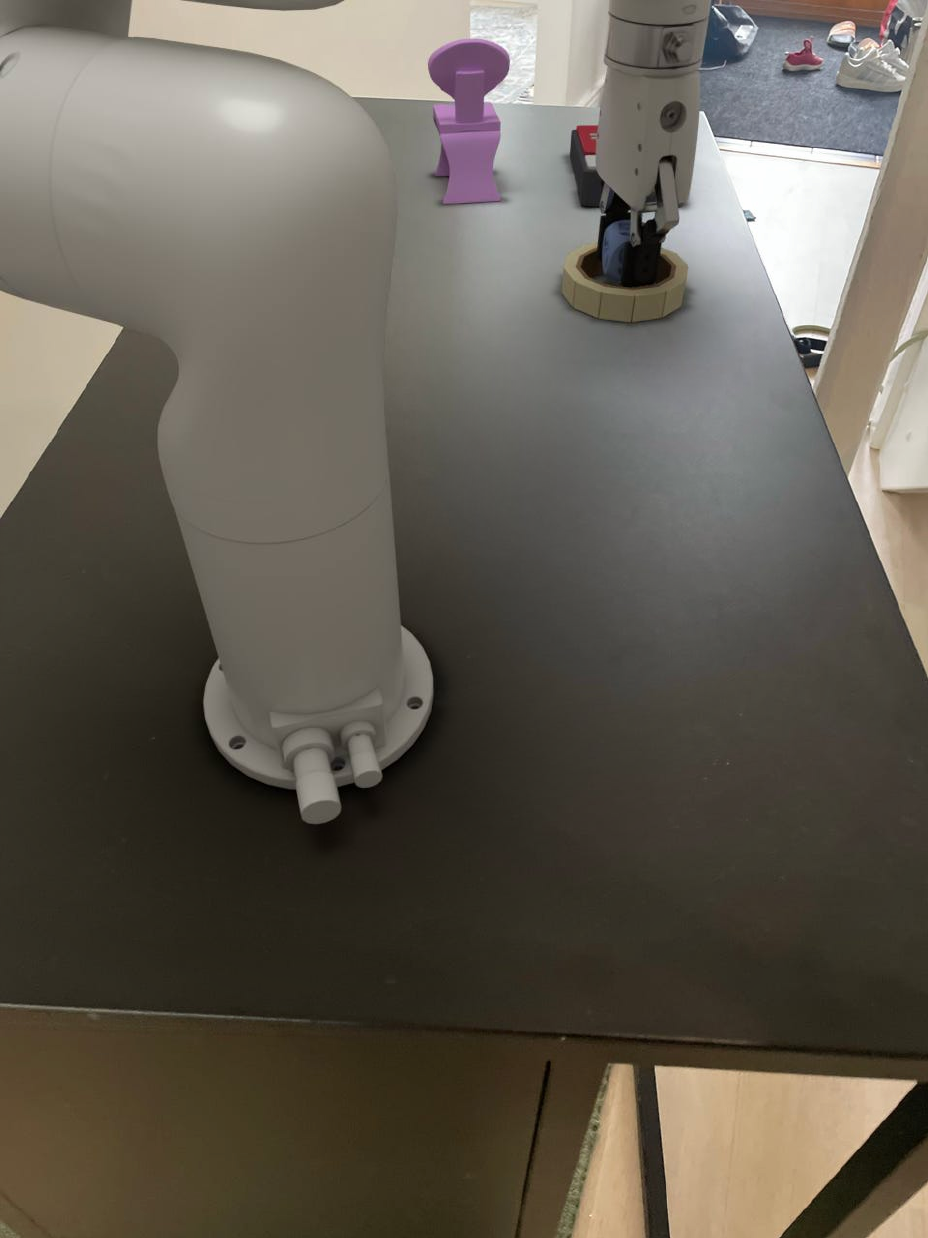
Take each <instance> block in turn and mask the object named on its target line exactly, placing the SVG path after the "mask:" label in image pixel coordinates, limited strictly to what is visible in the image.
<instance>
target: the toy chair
mask: <svg viewBox="0 0 928 1238" xmlns="http://www.w3.org/2000/svg"><path fill="white" fill-rule="evenodd" d="M510 58H511V57H510V55H509V53H508V51H507V50H506V49H505V48H504V47H503V46H501V45H500V44H499V43H496V42H494V41H491V40H488V39H484V38H461V39H457V40H454V41H453V40H452V41H450V42H448V43H445V44H444V45H441V46H440V47H439V48H436V50H435V51H433V52H432V53H431V54H430V56H429V58H428V61H427V70H428V74H429V77H430V79H431V81H432V82H433V83H434V84H435V85H436V87H438V88H439V89H440V91H442V92H444V93H445V94H447V95H448V96H449V97H450V98H452V99H453V100H454V104H447V103H446V104H444V103H443V104H432V116H433V117H432V118H433V123H434V126H435V127H436V130H437V132H438V135H439V139H440V145H441V146H440V153H439V159H438V164H437V166H436V169H435V173H434V175H435V177H448V183H447V184H448V185H447V188H446V191H445V194H444V198H443V200H442V203H443V205H454V204H455V205H456V204H458V205H459V204H472V203H473V204H475V203H490V202H491V203H492V202H500V201H502V199H501V196H500V193H499V190H498V188H497V184H496V181H495V176H494V162H495V156H496V154H497V150H498V148H499V144H500V141H501V137H502V135H501V120H500V118H499V116H498V115H497V111H496V110H495V108H494V105H493V103H492V102H491V101H488V102H487V101H486V102H485V97H486V96H487V95H488V94H489V93H490V92H491V91H493V90H495V89H496V87H497V86H498V85H499V84H501V83H502V82H503V81H504V80H505V79H506V77H507V76H508V74H509V71H510V66H511V65H510V63H511V59H510Z"/></svg>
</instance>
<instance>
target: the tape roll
mask: <svg viewBox="0 0 928 1238" xmlns="http://www.w3.org/2000/svg"><path fill="white" fill-rule="evenodd" d="M597 245H598V241H597V242H596V241H595V242H590V243H586V244H584V245H583V246H580V247H579V248H577V249H575V250H573V251H571V252H569V253H568V255H567V257H566V260H565V263H564V265H563V269H562V281H561V282H562V283H561V295H563V297H564V298H565V299H566V301H567V302H568V303H569V305H570V306H571V307H572V308H573V309H575V310H578V311H580V312H582V313H584V314H587V315H589V316H591V317H593V318H595V319H599V320H605V321H614V322H623V323H638V322H643V321H651V320H658V319H662V318H665V317H666V316H668V315H670V314H671V313H673V312H675V311H676V310H678V309H679V308H681V307H682V305H683V299H684V295H685V290H686V289H685V288H686V283H687V278H688V271H689V265H688V263H686V261H684V260H683V258H681V257H680V256H679V254H678V253H676V252H674V251H672V250H669V249H667V248H665V247H662V246H661V252H660V258H659V265H658V271H657V277H656V282H657V283H656V284H653V285H649V286H642V287H635V288H629V287H622V286H621V285H620V286H619V285H611V284H607V283H604V282H602V281H599V280H597V279H594V278H593V277H594V276H596V275H605V274H604V272H603V264H602V261H600V260H599V259H598V258H597V256H596V255H597Z"/></svg>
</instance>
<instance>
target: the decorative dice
mask: <svg viewBox="0 0 928 1238" xmlns="http://www.w3.org/2000/svg"><path fill="white" fill-rule="evenodd" d="M645 223H646V222H644V221H642V226H643V225H644V224H645ZM630 226H631V220H621V221H617V222H614V223H612V224H611V225H610V226H609V227H608V228H607V229H606V230H605V234H604V240H603V251H602V264H603V272H604V274H603V275H605V276H606V277H607V278H608V279H609V280H612V281H614V282H619V283H620V281H621V273H622V265H623V258H624V250H625V242H629V241H630Z"/></svg>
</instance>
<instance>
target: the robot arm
mask: <svg viewBox="0 0 928 1238" xmlns="http://www.w3.org/2000/svg"><path fill="white" fill-rule="evenodd" d="M182 1H184V2H189V3H190V2H192V3H200V4H205V5H215V6H223V7H232V8H241V9H242V8H243V9H252V10H267V11H282V12H287V11H315V10H319V9H325V8H328V7H334V6H336V5H337V6H338V5H339V4H340V3H343V2H344V1H345V0H181V2H182ZM132 7H133V0H0V292H3V293H5V294H7V295H10V296H14V297H17V298H20V299H22V300H26V301H30V302H31V303H36V304H40V305H44V306H46V307H50V308H52V309H58V310H61V311H64V312H65V311H66V312H69V313H72V314H75V315H80V316H84V317H87V318H92V319H95V320H99V321H101V322H107V323H110V324H114V325H117V326H119V327H121V328H124V329H127V330H130V331H133V332H137V333H140V334H144V335H147V336H150V337H153V338H155V339H157V340H159V341H161V342H163V343H164V344H165V345H166V346H168V347H169V348H170V350H171V351H172V352H173V353H174V356H175V358H176V360H177V363H178V365H177V366H178V376H177V380H176V383H175V385H174V386H173V389H172V391H171V393H170V395H169V396H168V398H167V400H166V402H165V404H164V406H163V408H162V411H161V414H160V416H159V421H158V426H157V453H158V459H159V464H160V468H161V472H162V477H163V479H164V483H165V487H166V490H167V494H168V497H169V500H170V503H171V504H172V507H173V509H174V512H175V515H176V519H177V523H178V525H179V530H180V532H181V536H182V540H183V543H184V546H185V549H186V553H187V556H188V559H189V563H190V567H191V570H192V574H193V576H194V580H195V583H196V586H197V590H198V593H199V596H200V600H201V604H202V607H203V609H204V613H205V616H206V620H207V623H208V626H209V630H210V633H211V636H212V640H213V643H214V646H215V651H216V653H217V656H218V657H217V659H216V661H215V662H214V664H213V666H212V667H211V669H210V673H209V674H208V677H207V680H206V683H205V685H204V692H203V693H204V694H203V699H202V704H203V712H204V720H205V722H206V726H207V728H208V732H209V735H210V737H211V740H212V741H213V743H214V745H215V747H216V748H217V751H218V752H219V753H220V754H221V755H222V756H223V758H225V759H226V760H227V762H228V763H229V764H230V765H231V766H232V767H233V768H235V769H237V770H238V771H239V772H241V773H242V774H243V775H245V776H247V777H249V778H251V779H254V780H256V781H258V782H261V783H263V784H266V785H268V786H273V787H277V788H282V789H287V790H296V795H297V801H298V806H299V807H298V808H299V812H300V816H301V817H300V818H301V820H302V821H303V822H305V823H306V824H310V825H320V824H321V825H322V824H325V823H329V822H330V821H333V820H335V819H336V818H337V817H338V816H339V815H340V814H341V812H342V804H341V800H340V795H339V790H338V788H339V787H343V786H346V785H350V784H354V785H355V786H356V787H358V788H361V789H367V788H372V787H375V786H377V785H378V784H379V783H380V782H381V781H382V780H383V773H382V771H383V770H384V769H386V768H387V767H389V766H390V765H392V764H393V763H395V762H396V761H398V760H399V759H400V758H401V757H402V756H403V755H404V754H405V753H406V752H407V751H408V750H409V749H410V748H411V747H412V746H413V745H414V744H415V742H416V741H417V739H418V738H419V737H420V735H421V733H422V732H423V731H424V729H425V727H426V724H427V722H428V720H429V717H430V715H431V713H432V706H433V701H434V695H435V694H434V693H435V692H434V676H433V670H432V666H431V661H430V659H429V658H428V657H429V656H428V655H427V653H426V651H425V649H424V647H423V645H422V644H421V643H420V642H419V640H418V639H417V638H416V636H415V635H414V634H413V633H412V632H410V631H409V630H408V629H407V628H406V627H404V626H403V625H402V620H401V619H402V618H401V608H400V594H399V583H398V581H399V580H398V570H397V557H396V544H395V542H396V541H395V532H394V531H395V529H394V518H393V517H394V515H393V504H392V491H391V478H390V467H389V457H388V444H387V443H388V442H387V429H386V428H387V426H386V409H385V366H384V365H385V342H386V326H387V318H388V317H387V315H388V307H389V298H390V297H389V296H390V289H391V280H392V273H393V264H394V257H395V248H396V240H397V230H398V229H397V227H398V217H399V216H398V214H399V213H398V210H399V209H398V185H397V178H396V174H395V173H396V172H395V167H394V163H393V158H392V155H391V152H390V150H389V147H388V145H387V142H386V140H385V138H384V136H383V134H382V131H380V129H379V127H378V126H377V124H376V122H375V120H373V119H372V118H371V116H370V115H369V114H368V112H367V111H366V109H364V107H363V106H361V104H359V102H358V101H357V100H355V98H354V97H353V96H352V95H350V94H348V93H347V92H346V91H345V90H344V89H343V88H342V87H340V86H338V85H336V84H335V83H334V82H332V81H331V80H329V79H327V78H325V77H324V76H321V75H319V74H317V73H315V72H314V71H311V70H309V69H306V68H304V67H301V66H299V65H296V64H293V63H291V62H287V61H285V60H282V59H279V58H275V57H271V56H267V55H262V54H258V53H254V52H249V51H243V50H237V49H232V48H225V47H220V46H211V45H204V44H198V43H197V44H196V43H192V42H183V41H177V40H169V39H162V38H156V37H143V36H129V34H130V33H129V32H130V23H131V16H132V15H131V14H132ZM711 7H712V0H609V3H608V12H607V22H606V32H605V43H604V53H603V63H604V65H605V66H607V67H606V72H605V76H604V82H603V89H602V94H601V100H600V101H601V102H600V107H599V116H598V124H597V125H598V131H597V141H596V169H597V172H598V174H599V176H600V177H601V182H600V186H601V187H602V196H601V200H600V206H599V211H600V218H599V227H598V237H597V242H598V245H597V255H596V256H597V258H598V259H599V260H600V261H602V251H603V240H604V234H605V230H606V229H607V228H608V227H609V226H610V225H611V224H612V223H614V222H617V221H621V220H631V226H630V241H629V242H625V250H624V258H623V265H622V273H621V281H620V282H619V284H620V287H629V288H635V287H642V286H650V285H655V283H656V282H657V281H656V277H657V271H658V265H659V258H660V252H661V247H662V244H663V243H665V242H666V239H667V235H668V234H669V232H670V231H671V230H672V229H674V228H675V227H676V226H678V225H679V223H680V210H679V207H682V206H685V205H686V204H687V203H688V202H689V198H690V196H691V195H690V194H691V191H692V190H691V189H692V183H693V175H694V169H695V161H696V154H697V153H696V152H697V145H698V144H697V143H698V135H699V124H700V111H701V110H700V109H701V73H700V71H699V69H700V68H701V67H702V62H703V56H704V50H705V44H706V38H707V33H708V25H709V20H710V13H711V12H710V11H711ZM648 196H656V202H651V203H645V201H646V197H648ZM645 213H646V214H648V213H654V217H653V218H649V219H648V220H646V221H645V222H644V223H645V224H644V225H643V226H642V222H643V214H645Z"/></svg>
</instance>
